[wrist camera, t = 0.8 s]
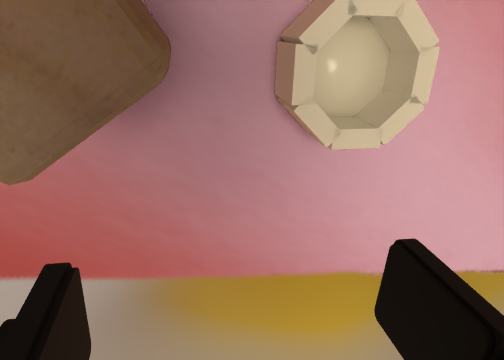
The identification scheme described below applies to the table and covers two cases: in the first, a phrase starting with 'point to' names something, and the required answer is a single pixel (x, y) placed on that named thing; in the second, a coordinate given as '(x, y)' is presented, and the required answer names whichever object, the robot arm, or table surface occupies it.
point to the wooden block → (70, 74)
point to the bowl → (356, 70)
